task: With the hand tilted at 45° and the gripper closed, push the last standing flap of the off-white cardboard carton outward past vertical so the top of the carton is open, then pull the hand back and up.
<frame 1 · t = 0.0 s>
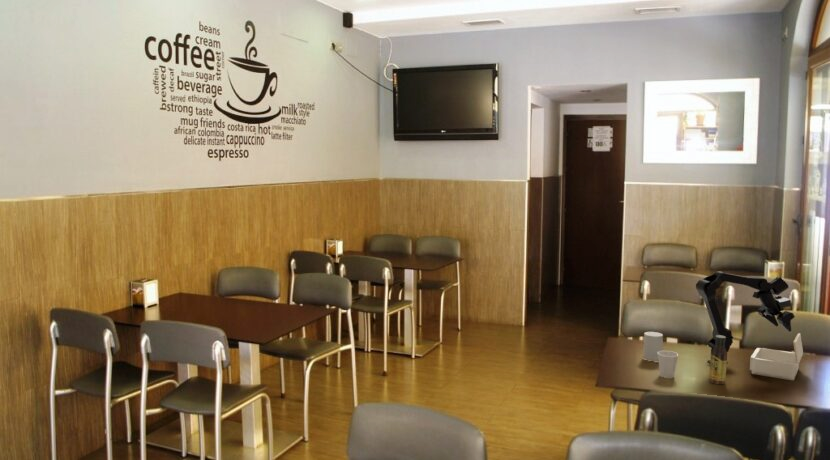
hand: (783, 328, 311), 15 cm above the table, tool tilted 35°, fingers open, 9 cm apart
cup: (652, 359, 314), on the table
sauce bottle: (717, 383, 283), on the table
carton flap: (798, 347, 291), point 12 cm above the table, hinge at 80.0°
carton: (775, 371, 297), on the table
dixie cup: (666, 376, 291), on the table
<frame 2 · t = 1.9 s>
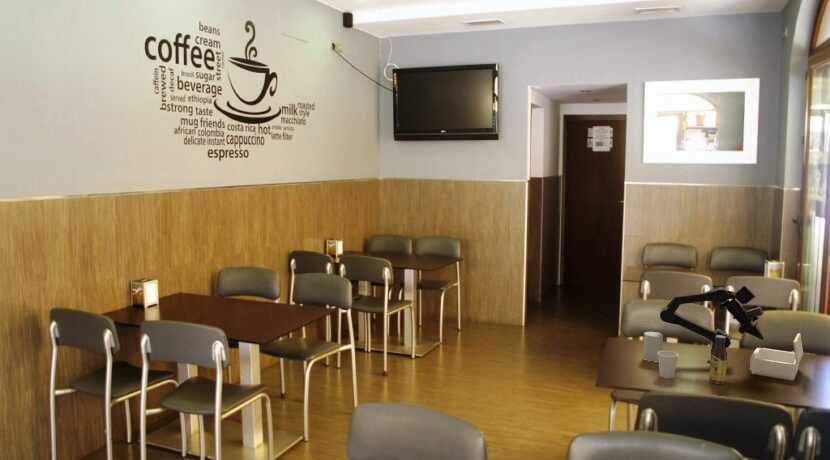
hand: (763, 339, 298), 14 cm above the table, tool tilted 45°, fingers closed
nothing on the table moved.
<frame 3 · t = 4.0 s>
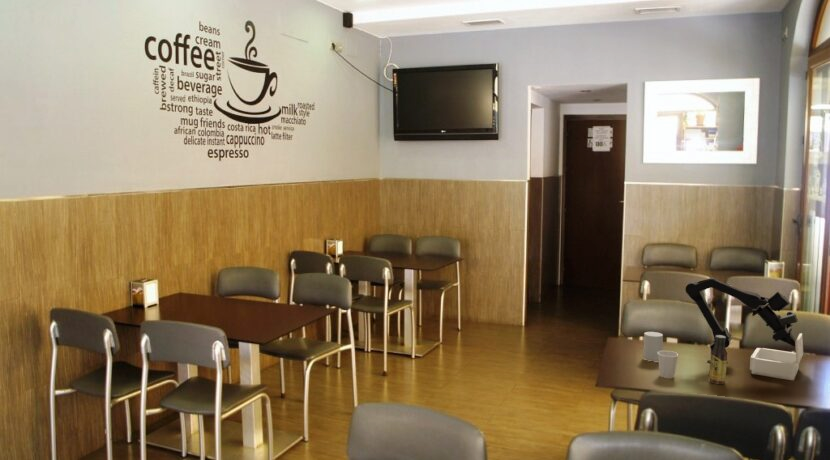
hand: (797, 346, 291), 12 cm above the table, tool tilted 45°, fingers closed, pressing on carton flap
carton flap: (799, 348, 291), point 12 cm above the table, hinge at 84.6°, touching gripper
everything else where it was.
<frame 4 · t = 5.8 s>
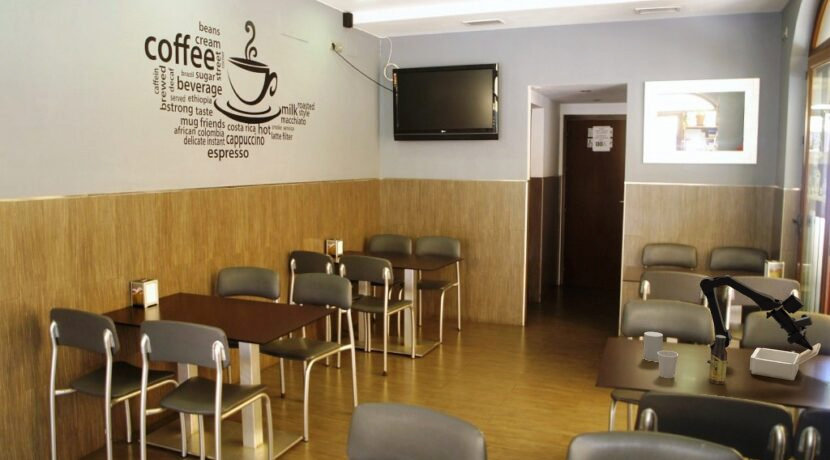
hand: (812, 349, 288), 12 cm above the table, tool tilted 45°, fingers closed
carton flap: (808, 353, 289), point 10 cm above the table, hinge at 138.3°
everything else where it was.
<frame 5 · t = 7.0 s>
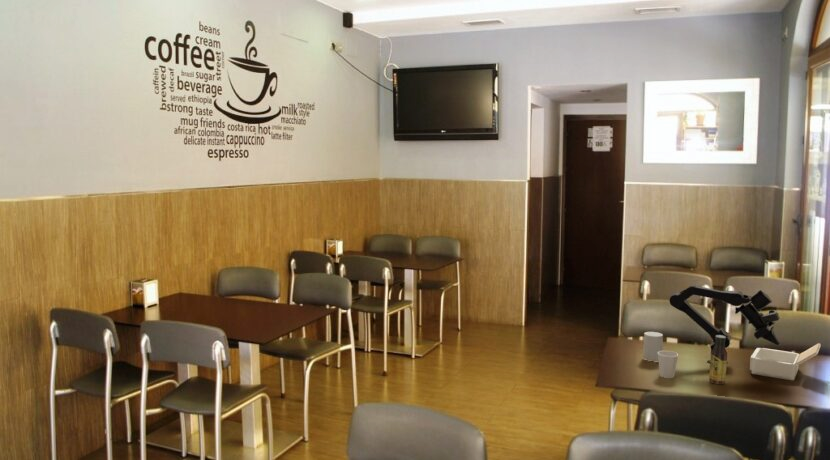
hand: (778, 344, 295), 12 cm above the table, tool tilted 45°, fingers closed
nothing on the table moved.
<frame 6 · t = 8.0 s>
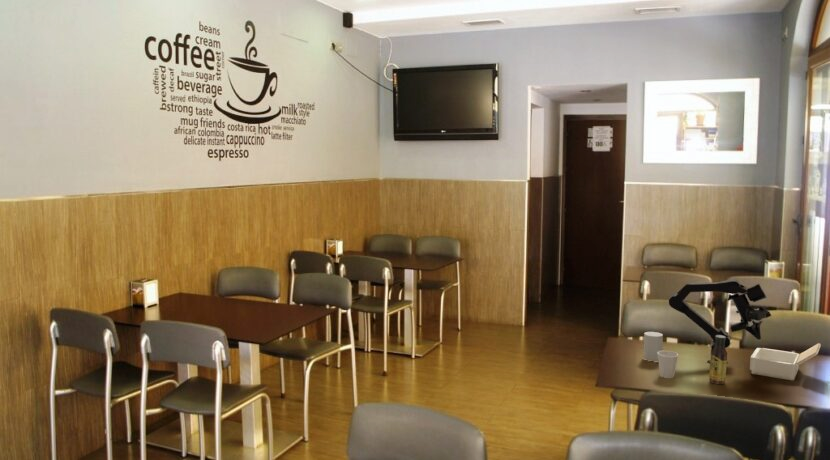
hand: (759, 339, 299), 13 cm above the table, tool tilted 30°, fingers closed
nothing on the table moved.
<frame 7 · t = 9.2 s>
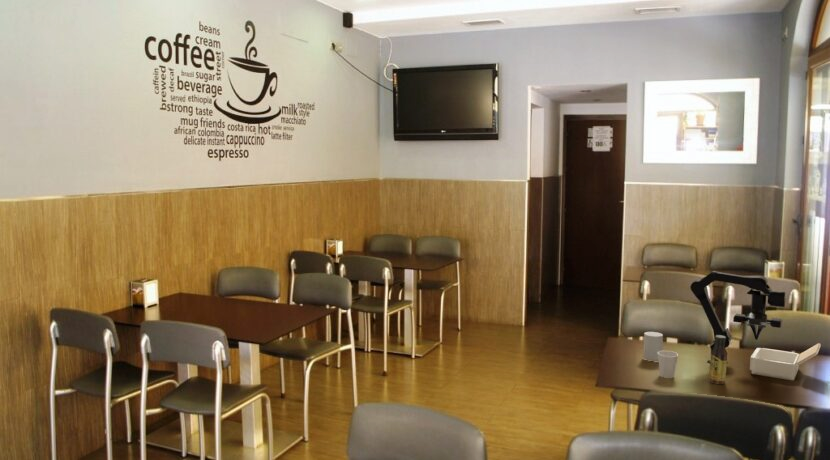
hand: (756, 339, 300), 13 cm above the table, tool pointing down, fingers closed
nothing on the table moved.
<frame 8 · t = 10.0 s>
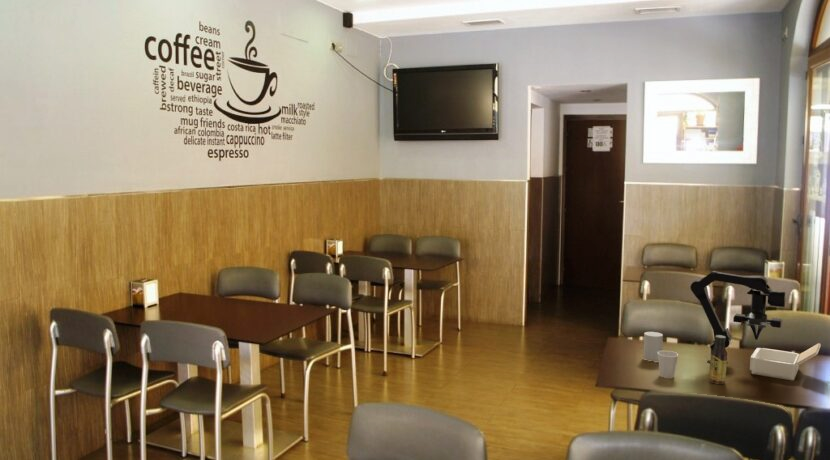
hand: (756, 339, 300), 13 cm above the table, tool pointing down, fingers closed
nothing on the table moved.
at the end: carton flap at +138° (first picture: +80°) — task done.
